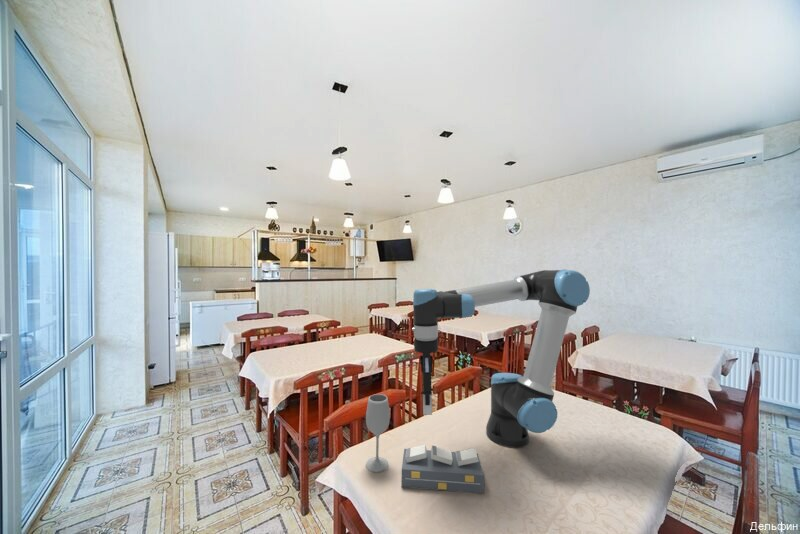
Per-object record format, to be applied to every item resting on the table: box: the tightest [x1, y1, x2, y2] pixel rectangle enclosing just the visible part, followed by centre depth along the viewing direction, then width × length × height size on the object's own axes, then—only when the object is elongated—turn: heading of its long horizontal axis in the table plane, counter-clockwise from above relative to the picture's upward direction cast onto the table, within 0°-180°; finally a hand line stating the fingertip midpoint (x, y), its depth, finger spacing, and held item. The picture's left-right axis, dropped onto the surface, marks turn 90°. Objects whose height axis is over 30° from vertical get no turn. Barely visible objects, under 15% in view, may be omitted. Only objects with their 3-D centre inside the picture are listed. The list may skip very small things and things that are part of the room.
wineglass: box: [365, 393, 391, 473], centre depth 94 cm, size 8×8×21 cm
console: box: [400, 448, 485, 494], centre depth 88 cm, size 23×10×5 cm, turn 85°
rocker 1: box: [406, 444, 428, 463], centre depth 89 cm, size 6×4×2 cm
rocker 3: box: [455, 447, 480, 466], centre depth 88 cm, size 6×4×2 cm
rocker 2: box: [430, 445, 453, 465], centre depth 88 cm, size 6×4×2 cm
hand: (427, 413), depth 93 cm, fingers closed
